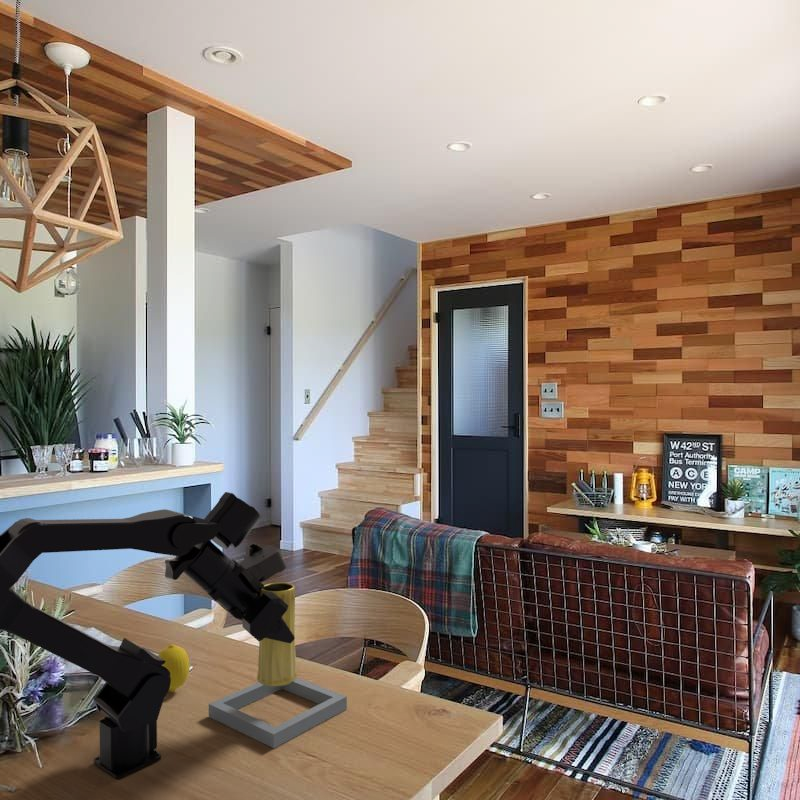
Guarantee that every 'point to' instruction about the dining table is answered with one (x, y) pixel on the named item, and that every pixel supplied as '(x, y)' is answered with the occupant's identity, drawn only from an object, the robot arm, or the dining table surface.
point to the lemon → (176, 665)
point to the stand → (287, 730)
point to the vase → (279, 643)
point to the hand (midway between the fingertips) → (285, 634)
